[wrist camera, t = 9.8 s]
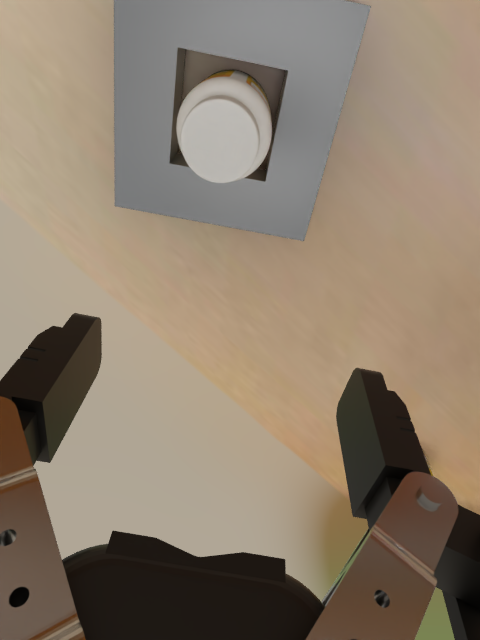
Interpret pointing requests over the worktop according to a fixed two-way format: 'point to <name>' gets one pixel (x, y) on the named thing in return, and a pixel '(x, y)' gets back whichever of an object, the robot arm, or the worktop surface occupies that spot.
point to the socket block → (245, 45)
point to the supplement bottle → (225, 127)
